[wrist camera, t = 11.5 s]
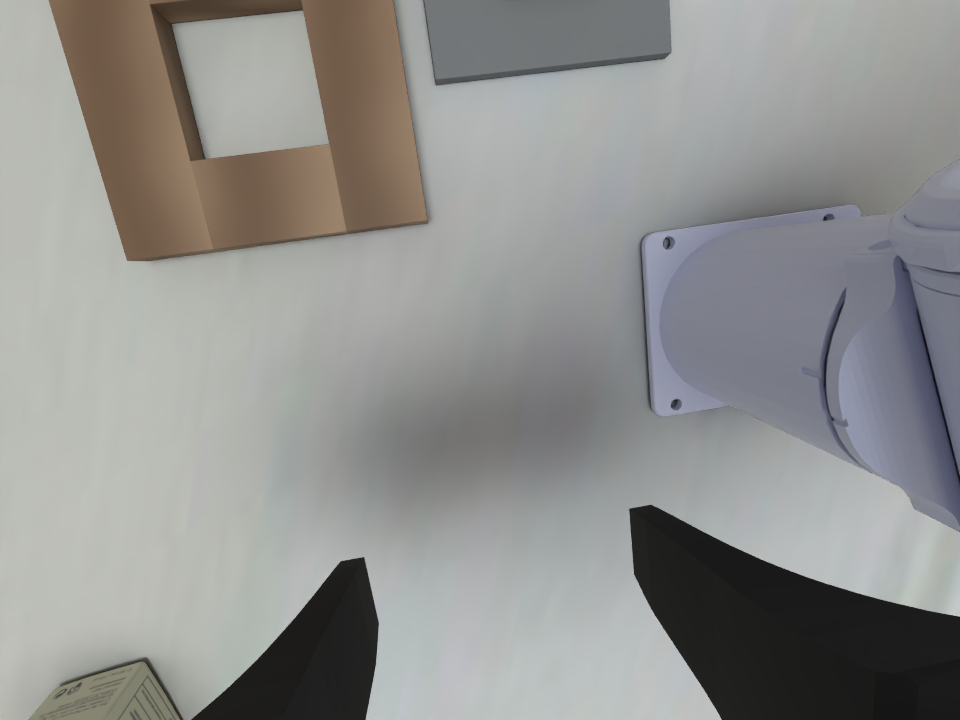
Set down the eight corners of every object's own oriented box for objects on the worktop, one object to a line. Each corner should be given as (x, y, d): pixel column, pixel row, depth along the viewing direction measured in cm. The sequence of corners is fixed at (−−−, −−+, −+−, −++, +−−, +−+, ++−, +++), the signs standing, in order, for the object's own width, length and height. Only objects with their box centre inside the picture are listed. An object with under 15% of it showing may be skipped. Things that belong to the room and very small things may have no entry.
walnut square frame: (377, -98, 16) (372, -128, 15) (428, 223, 18) (427, 219, 17) (51, -69, 15) (19, -97, 14) (148, 261, 17) (127, 260, 16)
